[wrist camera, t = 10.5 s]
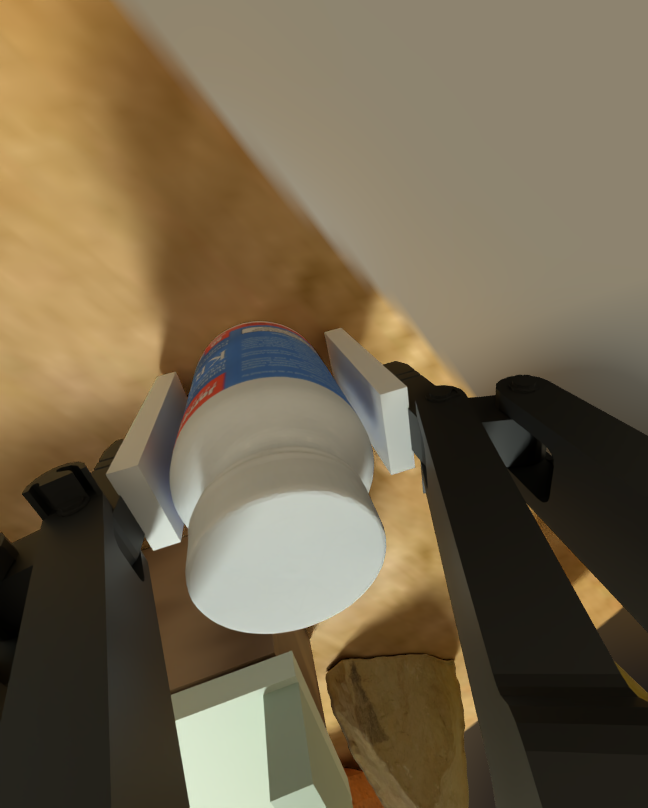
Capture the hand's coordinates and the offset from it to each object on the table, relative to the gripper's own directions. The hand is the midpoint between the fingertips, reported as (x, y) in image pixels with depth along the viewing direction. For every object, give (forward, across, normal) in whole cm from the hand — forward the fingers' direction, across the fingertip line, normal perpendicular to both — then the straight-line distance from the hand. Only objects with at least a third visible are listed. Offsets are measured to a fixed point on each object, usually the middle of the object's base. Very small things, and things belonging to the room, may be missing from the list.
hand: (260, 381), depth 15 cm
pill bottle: (+1, 0, 0) cm, 1 cm away
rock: (+1, +3, -26) cm, 26 cm away
